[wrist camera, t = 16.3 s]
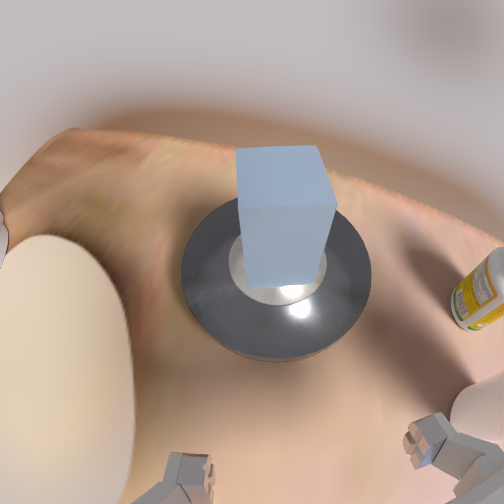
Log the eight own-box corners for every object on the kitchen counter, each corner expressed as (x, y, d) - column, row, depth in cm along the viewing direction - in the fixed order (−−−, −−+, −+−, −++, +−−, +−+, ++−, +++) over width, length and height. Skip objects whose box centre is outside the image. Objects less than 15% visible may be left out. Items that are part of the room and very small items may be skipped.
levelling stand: (192, 372, 20) (174, 361, 16) (196, 226, 27) (186, 192, 23) (371, 354, 20) (395, 338, 16) (336, 215, 27) (346, 182, 23)
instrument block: (247, 289, 19) (238, 209, 12) (244, 235, 21) (235, 148, 14) (312, 283, 19) (337, 203, 12) (302, 231, 21) (316, 145, 14)
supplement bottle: (441, 310, 21) (503, 255, 13) (460, 274, 23) (512, 217, 15) (475, 344, 19) (543, 302, 11) (491, 306, 21) (548, 258, 13)
